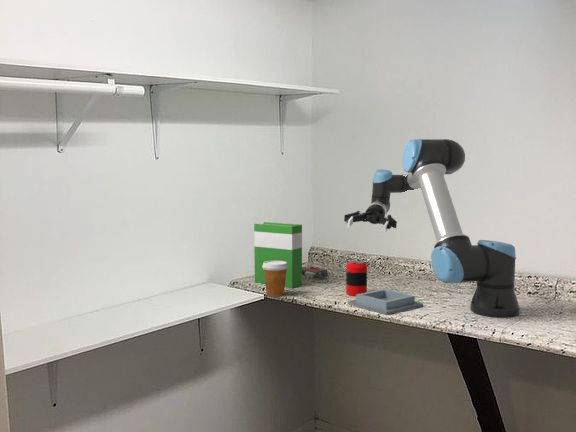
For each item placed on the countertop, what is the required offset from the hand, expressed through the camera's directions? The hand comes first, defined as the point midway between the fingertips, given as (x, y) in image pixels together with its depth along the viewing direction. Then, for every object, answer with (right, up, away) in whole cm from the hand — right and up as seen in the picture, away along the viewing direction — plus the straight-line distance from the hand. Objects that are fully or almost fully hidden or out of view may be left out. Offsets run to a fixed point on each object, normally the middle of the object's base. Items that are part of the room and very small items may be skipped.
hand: (366, 226), depth 227 cm
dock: (+4, -26, -18) cm, 32 cm away
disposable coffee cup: (-34, -25, -2) cm, 42 cm away
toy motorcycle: (-17, -22, +31) cm, 42 cm away
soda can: (-4, -25, -2) cm, 25 cm away
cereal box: (-33, -23, +16) cm, 43 cm away
